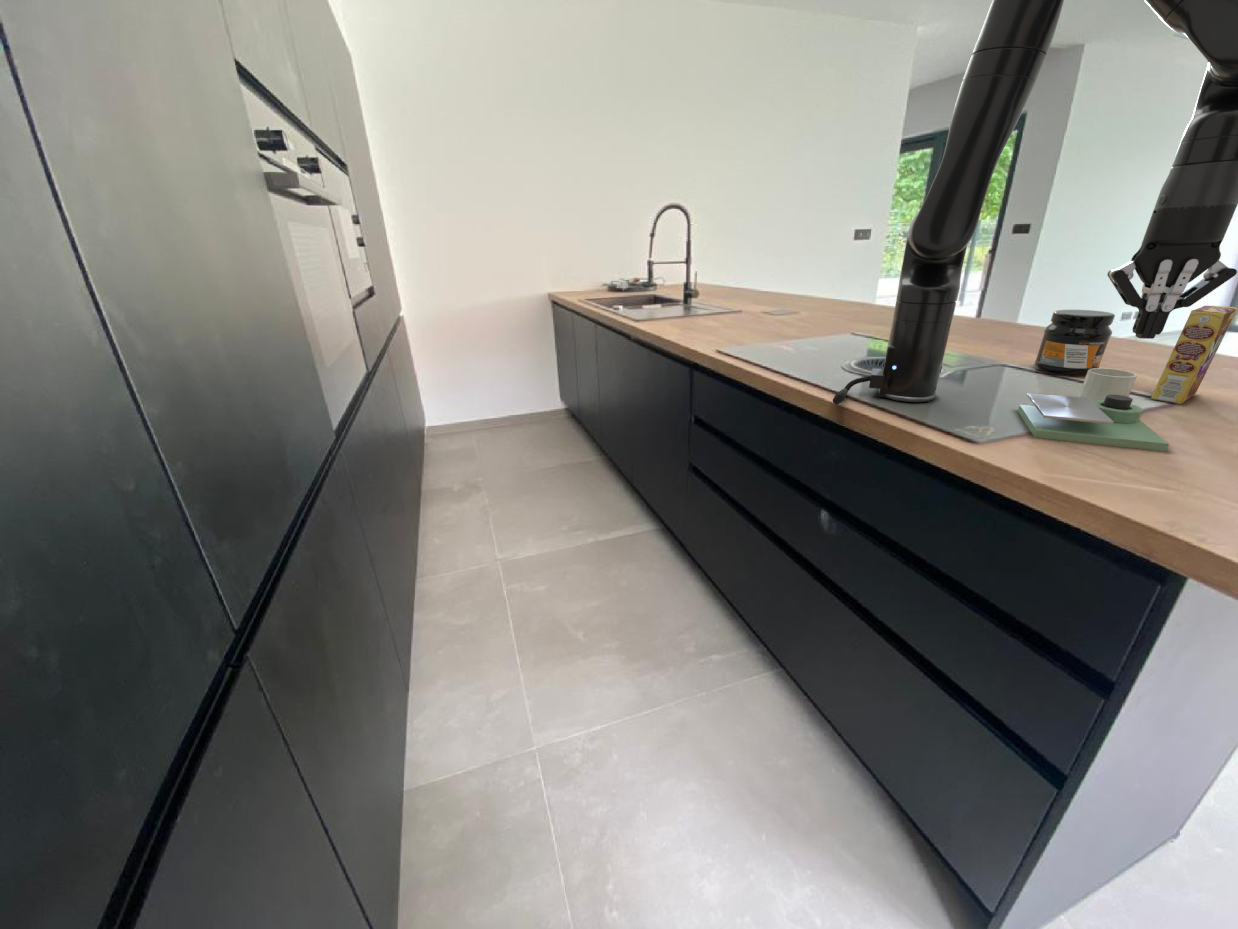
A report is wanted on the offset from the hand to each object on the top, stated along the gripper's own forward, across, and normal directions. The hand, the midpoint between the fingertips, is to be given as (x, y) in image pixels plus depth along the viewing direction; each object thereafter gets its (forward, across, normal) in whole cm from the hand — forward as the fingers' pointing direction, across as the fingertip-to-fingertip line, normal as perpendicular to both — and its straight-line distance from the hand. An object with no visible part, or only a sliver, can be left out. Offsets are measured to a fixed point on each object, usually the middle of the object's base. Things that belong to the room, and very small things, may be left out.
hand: (1144, 337), depth 73 cm
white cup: (+13, -2, -12) cm, 18 cm away
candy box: (+14, -14, -20) cm, 28 cm away
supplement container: (+14, -2, -36) cm, 38 cm away
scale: (+13, +4, +4) cm, 15 cm away
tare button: (+11, 0, 0) cm, 11 cm away
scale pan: (+10, +7, +4) cm, 13 cm away
